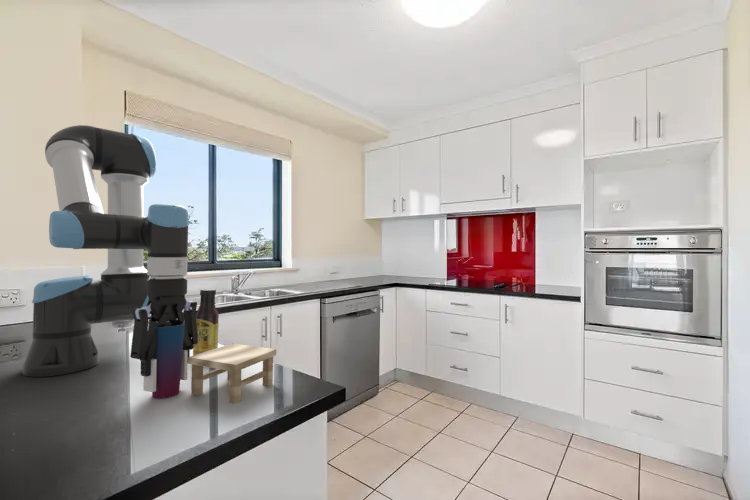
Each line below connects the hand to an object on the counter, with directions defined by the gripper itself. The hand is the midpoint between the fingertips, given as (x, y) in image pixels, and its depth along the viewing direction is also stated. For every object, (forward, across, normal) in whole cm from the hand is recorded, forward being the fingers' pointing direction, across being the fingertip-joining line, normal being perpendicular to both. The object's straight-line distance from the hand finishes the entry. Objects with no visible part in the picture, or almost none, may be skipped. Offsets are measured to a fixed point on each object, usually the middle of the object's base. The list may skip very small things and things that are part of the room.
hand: (166, 384), depth 79 cm
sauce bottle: (+2, +22, +12) cm, 25 cm away
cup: (+2, 0, 0) cm, 2 cm away
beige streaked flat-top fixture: (+2, +8, -11) cm, 14 cm away
